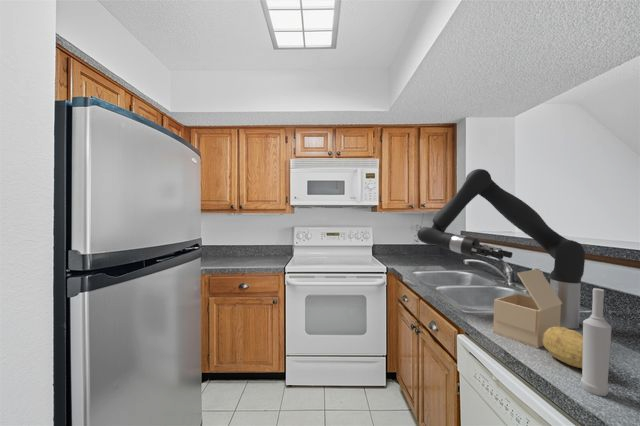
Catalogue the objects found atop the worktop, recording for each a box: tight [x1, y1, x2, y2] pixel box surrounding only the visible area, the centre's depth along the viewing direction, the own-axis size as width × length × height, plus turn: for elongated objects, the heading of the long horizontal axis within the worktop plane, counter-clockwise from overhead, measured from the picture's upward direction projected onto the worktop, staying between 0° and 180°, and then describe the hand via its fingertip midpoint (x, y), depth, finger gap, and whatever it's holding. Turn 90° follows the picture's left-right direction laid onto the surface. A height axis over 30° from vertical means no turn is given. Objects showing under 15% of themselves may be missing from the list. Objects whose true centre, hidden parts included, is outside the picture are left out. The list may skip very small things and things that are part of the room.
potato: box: [542, 327, 583, 369], centre depth 88 cm, size 10×14×10 cm
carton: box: [492, 293, 561, 349], centre depth 107 cm, size 17×14×12 cm
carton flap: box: [516, 268, 563, 311], centre depth 104 cm, size 15×13×1 cm
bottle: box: [580, 287, 612, 397], centre depth 75 cm, size 5×5×25 cm
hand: (507, 255), depth 112 cm, fingers open, 8 cm apart
